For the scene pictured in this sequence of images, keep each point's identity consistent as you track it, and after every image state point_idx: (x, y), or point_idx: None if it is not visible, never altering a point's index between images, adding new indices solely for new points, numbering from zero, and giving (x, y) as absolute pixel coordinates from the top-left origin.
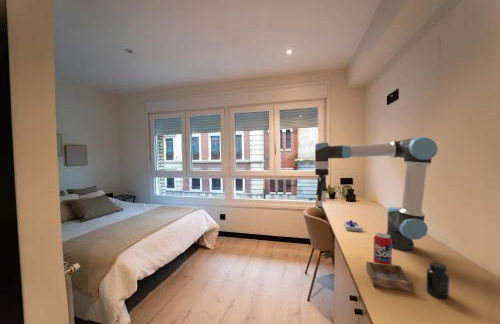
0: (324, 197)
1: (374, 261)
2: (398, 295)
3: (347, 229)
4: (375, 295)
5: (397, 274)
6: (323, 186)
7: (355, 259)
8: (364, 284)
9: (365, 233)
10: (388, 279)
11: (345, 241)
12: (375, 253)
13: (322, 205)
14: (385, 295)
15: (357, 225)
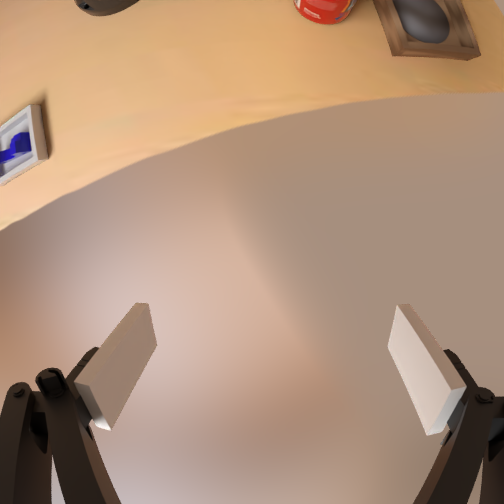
0: (132, 345)
1: (336, 22)
2: None
3: (44, 155)
4: (492, 68)
5: None
6: (106, 484)
7: (333, 81)
8: (468, 80)
9: (48, 89)
10: (468, 22)
11: (161, 133)
12: (348, 7)
13: (400, 309)
14: (481, 46)
15: (3, 133)
